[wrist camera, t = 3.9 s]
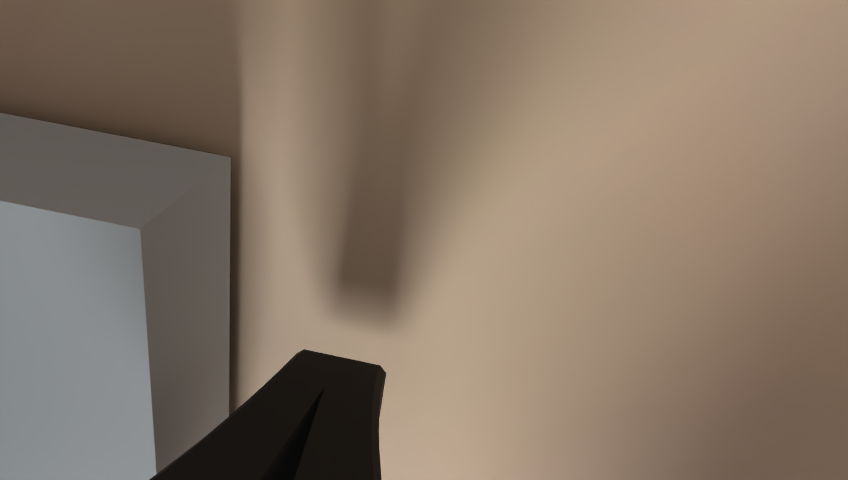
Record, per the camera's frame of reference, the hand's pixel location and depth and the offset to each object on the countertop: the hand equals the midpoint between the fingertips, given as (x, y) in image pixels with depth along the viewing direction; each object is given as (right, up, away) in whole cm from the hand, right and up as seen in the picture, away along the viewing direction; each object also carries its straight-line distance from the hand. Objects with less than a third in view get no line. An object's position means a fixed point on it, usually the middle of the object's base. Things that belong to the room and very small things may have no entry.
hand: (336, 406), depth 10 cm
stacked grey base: (-7, +2, +2) cm, 7 cm away
